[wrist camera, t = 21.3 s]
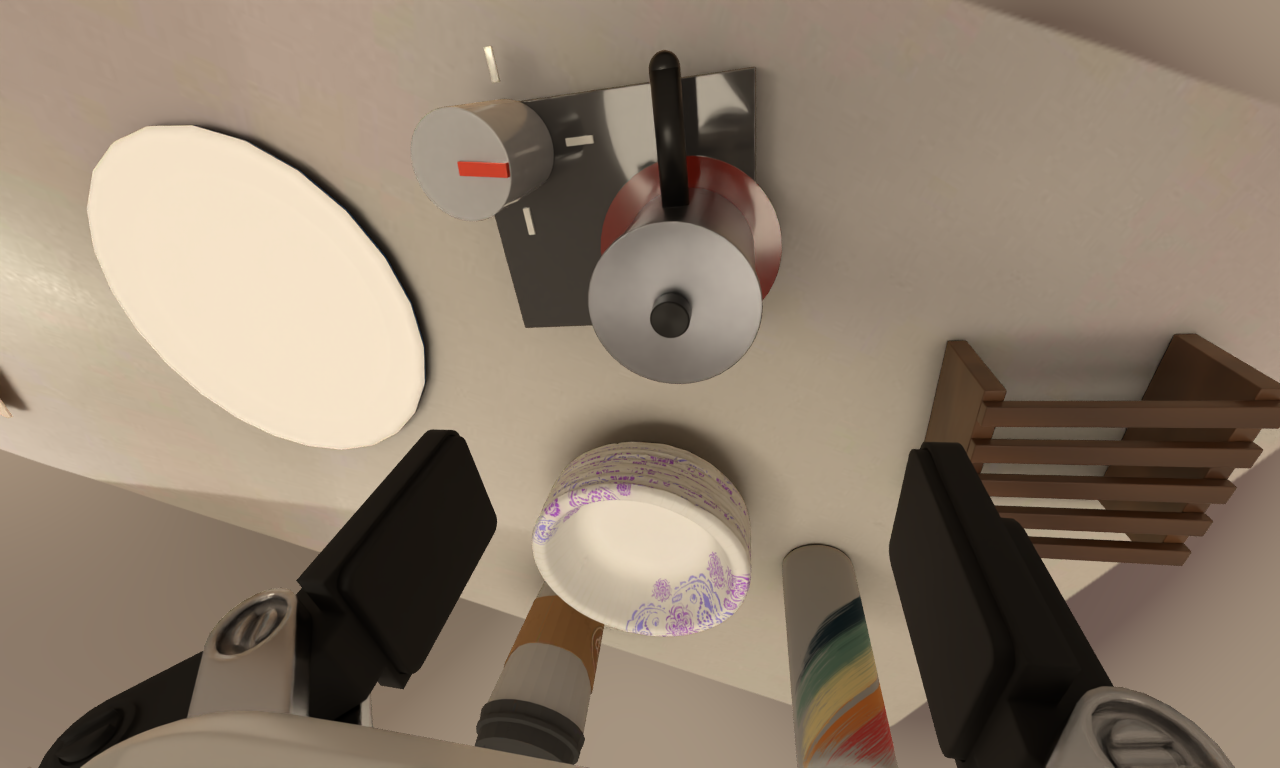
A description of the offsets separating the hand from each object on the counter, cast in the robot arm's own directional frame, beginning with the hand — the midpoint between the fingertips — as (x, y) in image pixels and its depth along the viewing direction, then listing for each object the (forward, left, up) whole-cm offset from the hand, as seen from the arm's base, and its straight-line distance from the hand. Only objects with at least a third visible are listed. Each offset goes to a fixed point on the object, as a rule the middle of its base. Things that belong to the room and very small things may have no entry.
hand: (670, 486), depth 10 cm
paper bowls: (+21, -6, -21) cm, 30 cm away
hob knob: (-5, -10, -18) cm, 21 cm away
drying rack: (+14, +19, -21) cm, 31 cm away
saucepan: (-2, -1, -18) cm, 18 cm away
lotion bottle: (+29, +7, -21) cm, 36 cm away
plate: (+4, -33, -21) cm, 39 cm away
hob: (-3, -6, -21) cm, 22 cm away
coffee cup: (+34, -15, -21) cm, 42 cm away
